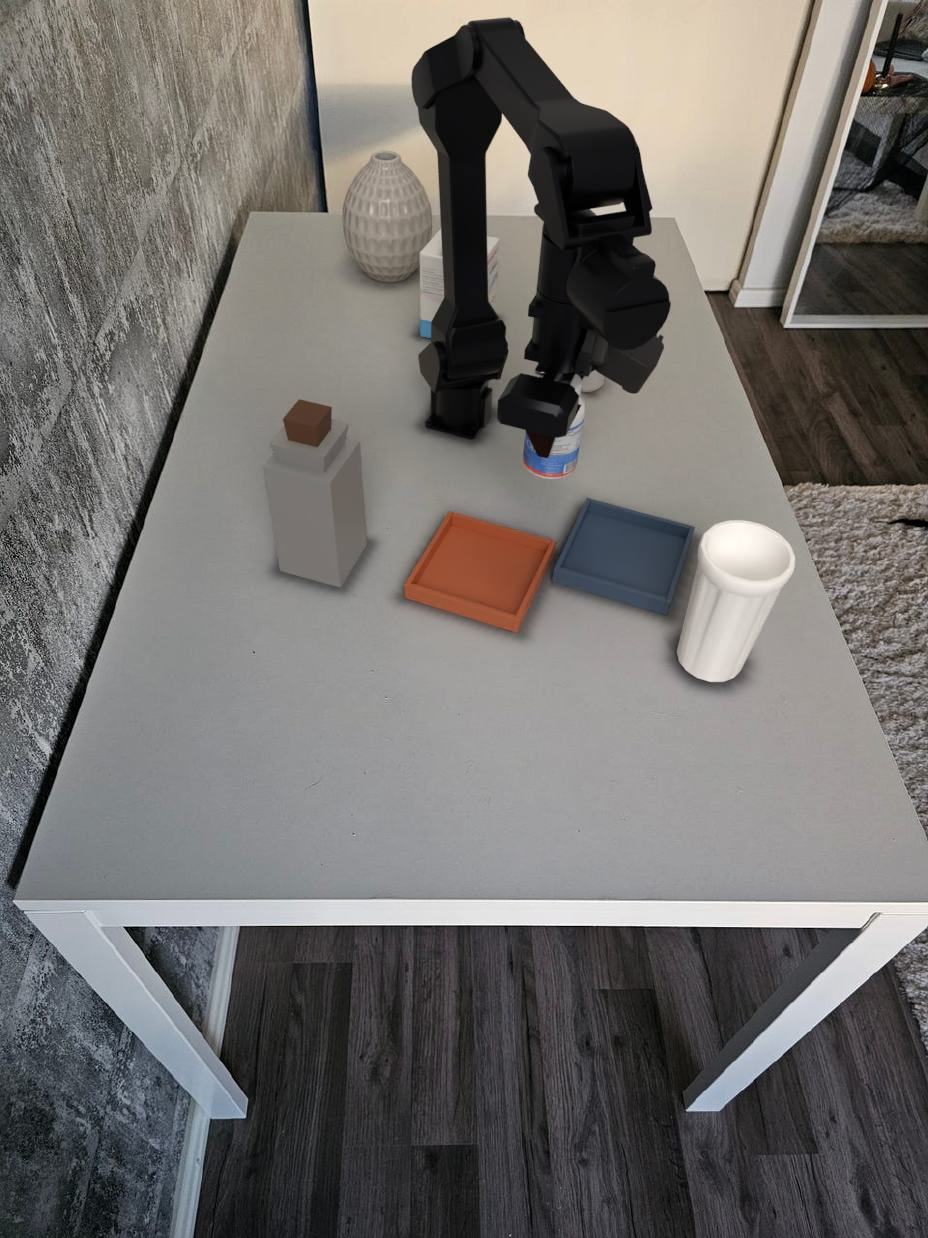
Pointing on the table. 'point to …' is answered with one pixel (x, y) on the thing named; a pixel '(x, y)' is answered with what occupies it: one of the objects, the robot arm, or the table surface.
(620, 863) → the table surface
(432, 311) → the ink box
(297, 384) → the table surface
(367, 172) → the vase
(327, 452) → the perfume bottle
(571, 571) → the slate tray
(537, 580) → the terracotta tray
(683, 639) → the cup
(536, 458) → the pill bottle
